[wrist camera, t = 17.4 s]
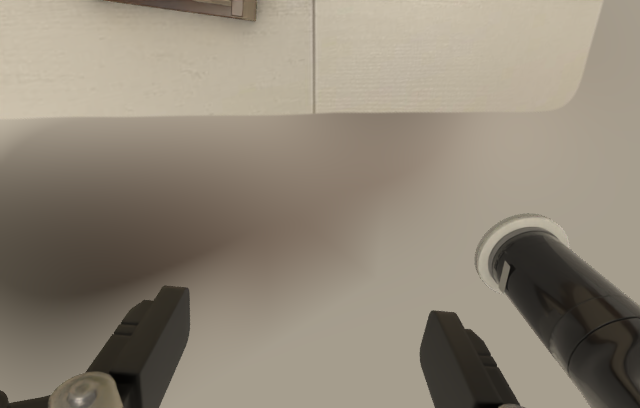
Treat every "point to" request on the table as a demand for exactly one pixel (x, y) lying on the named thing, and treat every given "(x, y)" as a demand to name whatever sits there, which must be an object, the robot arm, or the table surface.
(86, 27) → the table surface
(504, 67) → the table surface
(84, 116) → the table surface
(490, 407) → the robot arm
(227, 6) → the brown book stand
